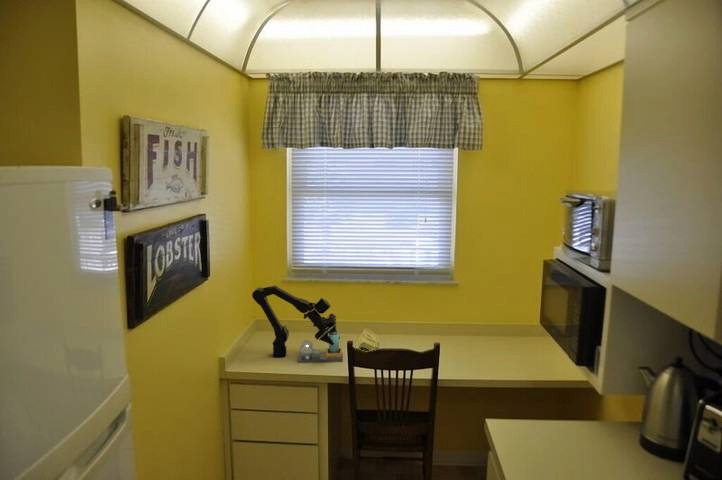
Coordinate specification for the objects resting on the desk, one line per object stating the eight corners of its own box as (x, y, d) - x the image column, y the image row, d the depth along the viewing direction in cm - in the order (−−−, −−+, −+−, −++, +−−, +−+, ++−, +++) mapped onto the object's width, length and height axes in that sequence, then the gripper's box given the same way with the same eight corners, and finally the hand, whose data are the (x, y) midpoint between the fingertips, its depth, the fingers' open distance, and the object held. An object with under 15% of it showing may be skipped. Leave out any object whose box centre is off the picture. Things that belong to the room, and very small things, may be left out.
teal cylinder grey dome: (328, 356, 271) (328, 334, 269) (329, 353, 276) (329, 331, 274) (338, 356, 271) (338, 334, 269) (338, 353, 276) (338, 331, 274)
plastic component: (377, 348, 282) (361, 340, 282) (371, 359, 284) (355, 351, 283) (378, 334, 302) (363, 327, 301) (372, 345, 303) (357, 337, 303)
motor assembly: (298, 362, 267) (298, 346, 266) (299, 355, 278) (299, 339, 277) (342, 361, 268) (342, 346, 267) (342, 354, 279) (342, 339, 278)
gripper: (320, 314, 263) (340, 337, 261) (333, 305, 280) (352, 327, 278) (306, 328, 266) (326, 351, 264) (319, 318, 284) (338, 339, 282)
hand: (336, 341), depth 272 cm, fingers open, 9 cm apart
